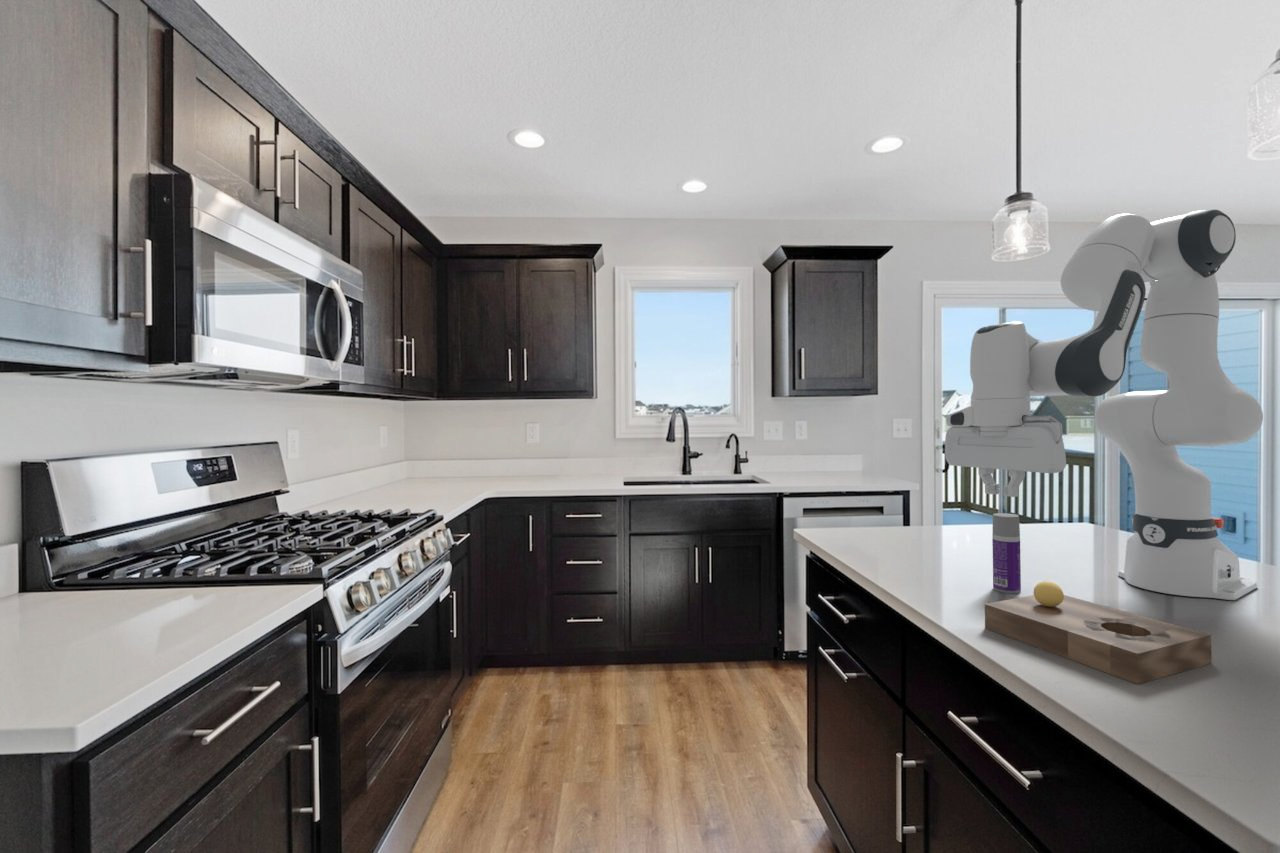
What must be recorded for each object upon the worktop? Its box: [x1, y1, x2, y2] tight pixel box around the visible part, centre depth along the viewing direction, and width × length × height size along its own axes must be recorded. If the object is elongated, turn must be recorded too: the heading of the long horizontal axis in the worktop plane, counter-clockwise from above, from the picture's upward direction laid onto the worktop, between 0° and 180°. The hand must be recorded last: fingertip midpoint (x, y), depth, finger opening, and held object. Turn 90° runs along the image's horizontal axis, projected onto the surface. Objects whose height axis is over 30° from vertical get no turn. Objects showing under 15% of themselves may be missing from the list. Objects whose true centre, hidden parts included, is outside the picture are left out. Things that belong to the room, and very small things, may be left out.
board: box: [984, 594, 1213, 685], centre depth 89 cm, size 16×22×4 cm
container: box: [991, 512, 1022, 595], centre depth 116 cm, size 5×5×15 cm
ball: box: [1033, 580, 1065, 607], centre depth 94 cm, size 4×4×4 cm
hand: (1001, 495), depth 101 cm, fingers open, 2 cm apart
